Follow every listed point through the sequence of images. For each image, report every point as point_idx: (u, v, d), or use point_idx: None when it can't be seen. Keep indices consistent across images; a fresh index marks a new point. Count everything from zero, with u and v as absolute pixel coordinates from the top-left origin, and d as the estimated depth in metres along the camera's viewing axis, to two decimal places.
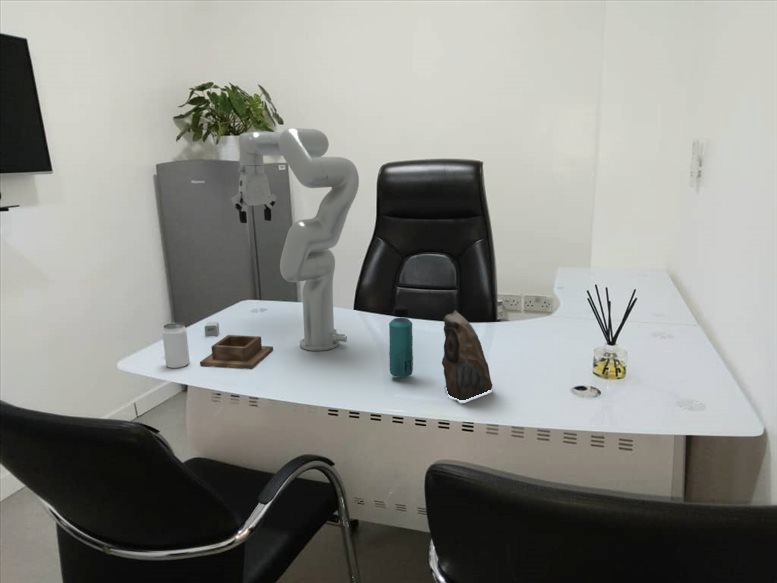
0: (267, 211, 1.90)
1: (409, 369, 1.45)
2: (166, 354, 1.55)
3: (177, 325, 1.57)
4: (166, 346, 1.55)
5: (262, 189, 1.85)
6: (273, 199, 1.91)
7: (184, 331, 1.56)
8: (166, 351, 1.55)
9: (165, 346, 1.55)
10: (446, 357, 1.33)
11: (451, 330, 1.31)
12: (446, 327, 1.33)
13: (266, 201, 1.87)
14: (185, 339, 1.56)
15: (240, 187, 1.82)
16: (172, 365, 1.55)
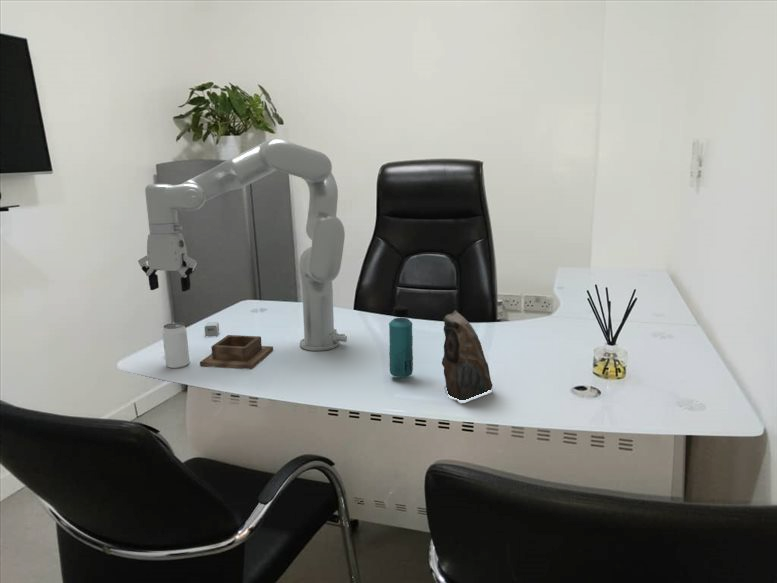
0: (156, 277, 1.54)
1: (409, 369, 1.45)
2: (166, 354, 1.55)
3: (177, 325, 1.57)
4: (166, 346, 1.55)
5: None
6: None
7: (184, 331, 1.56)
8: (166, 351, 1.55)
9: (165, 346, 1.55)
10: (446, 357, 1.33)
11: (451, 330, 1.31)
12: (446, 327, 1.33)
13: None
14: (185, 339, 1.56)
15: (181, 248, 1.50)
16: (172, 365, 1.55)
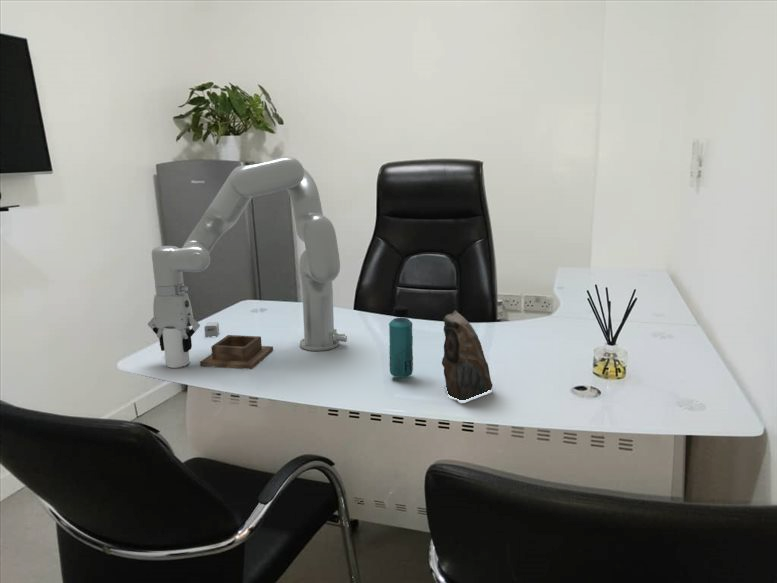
0: None
1: (409, 369, 1.45)
2: (166, 354, 1.55)
3: None
4: (166, 346, 1.54)
5: None
6: None
7: None
8: (166, 351, 1.55)
9: (165, 346, 1.55)
10: (446, 357, 1.33)
11: (451, 330, 1.31)
12: (446, 327, 1.33)
13: None
14: None
15: (187, 308, 1.54)
16: (172, 365, 1.55)
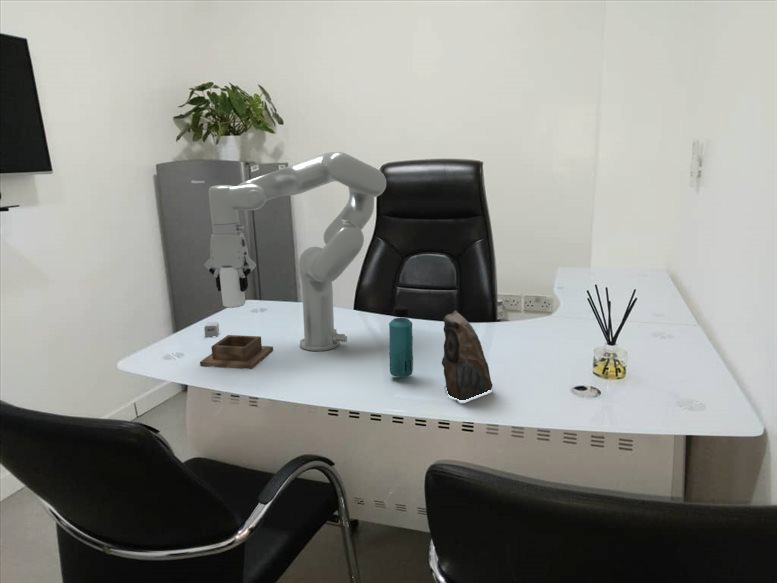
0: None
1: (409, 369, 1.45)
2: (223, 293, 1.57)
3: None
4: (223, 286, 1.56)
5: None
6: None
7: None
8: (223, 290, 1.56)
9: (222, 285, 1.56)
10: (446, 357, 1.33)
11: (451, 330, 1.31)
12: (446, 327, 1.33)
13: None
14: None
15: (243, 247, 1.55)
16: (229, 304, 1.57)
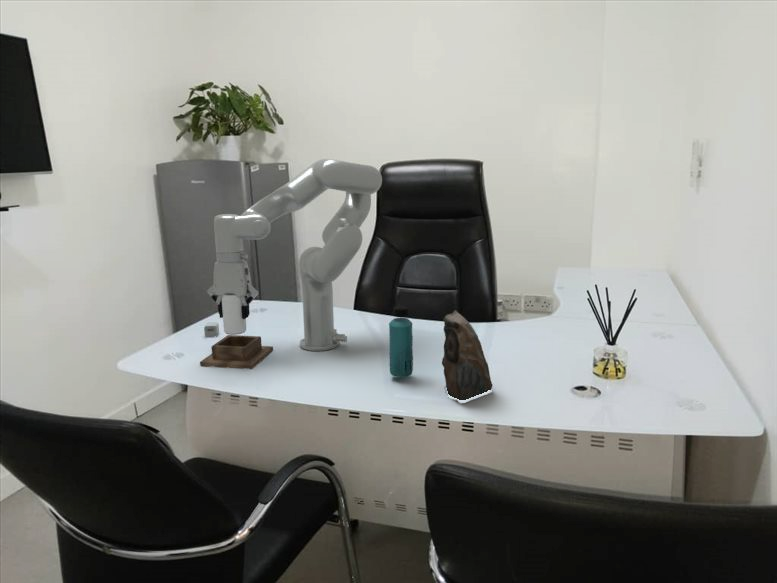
0: None
1: (409, 369, 1.45)
2: (225, 320, 1.58)
3: None
4: (225, 313, 1.58)
5: None
6: None
7: None
8: (225, 317, 1.58)
9: (224, 312, 1.58)
10: (446, 357, 1.33)
11: (451, 330, 1.31)
12: (446, 327, 1.33)
13: None
14: None
15: (246, 276, 1.57)
16: (230, 331, 1.59)
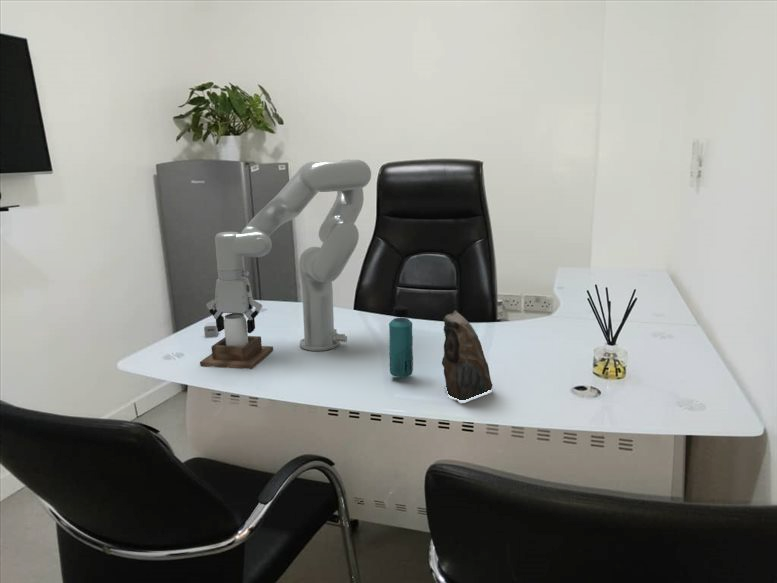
0: (222, 319, 1.63)
1: (409, 369, 1.45)
2: (228, 343, 1.60)
3: (237, 315, 1.62)
4: (228, 336, 1.59)
5: None
6: None
7: (244, 321, 1.60)
8: (228, 341, 1.60)
9: (227, 336, 1.60)
10: (446, 357, 1.33)
11: (451, 330, 1.31)
12: (446, 327, 1.33)
13: None
14: (245, 328, 1.61)
15: (248, 293, 1.58)
16: None
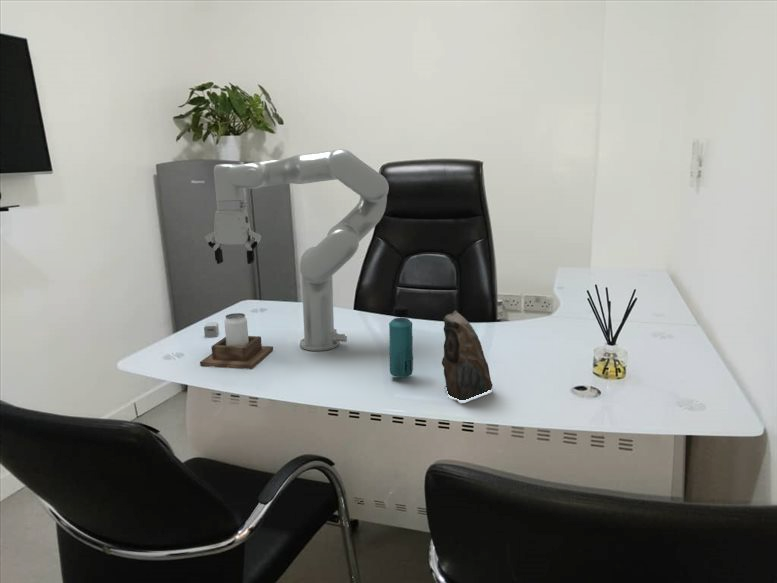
0: (221, 252, 1.66)
1: (409, 369, 1.45)
2: (228, 343, 1.60)
3: (238, 315, 1.62)
4: (228, 336, 1.59)
5: None
6: None
7: (245, 321, 1.61)
8: (228, 340, 1.60)
9: (227, 336, 1.60)
10: (446, 357, 1.33)
11: (451, 330, 1.31)
12: (446, 327, 1.33)
13: None
14: (246, 329, 1.61)
15: (247, 224, 1.62)
16: None
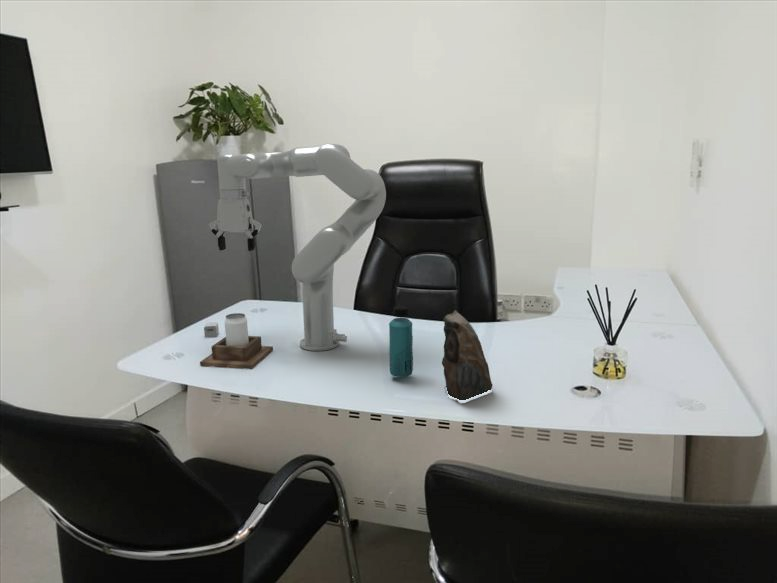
0: (223, 239, 1.73)
1: (409, 369, 1.45)
2: (228, 343, 1.60)
3: (238, 315, 1.62)
4: (229, 336, 1.59)
5: None
6: None
7: (245, 321, 1.61)
8: (228, 340, 1.60)
9: (227, 336, 1.60)
10: (446, 357, 1.33)
11: (451, 330, 1.31)
12: (446, 327, 1.33)
13: None
14: (246, 329, 1.61)
15: (248, 212, 1.68)
16: None
